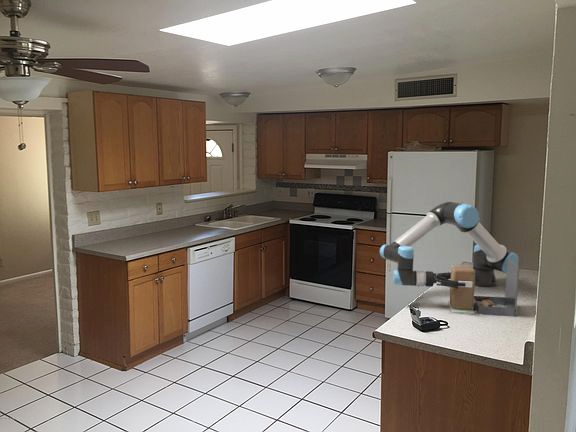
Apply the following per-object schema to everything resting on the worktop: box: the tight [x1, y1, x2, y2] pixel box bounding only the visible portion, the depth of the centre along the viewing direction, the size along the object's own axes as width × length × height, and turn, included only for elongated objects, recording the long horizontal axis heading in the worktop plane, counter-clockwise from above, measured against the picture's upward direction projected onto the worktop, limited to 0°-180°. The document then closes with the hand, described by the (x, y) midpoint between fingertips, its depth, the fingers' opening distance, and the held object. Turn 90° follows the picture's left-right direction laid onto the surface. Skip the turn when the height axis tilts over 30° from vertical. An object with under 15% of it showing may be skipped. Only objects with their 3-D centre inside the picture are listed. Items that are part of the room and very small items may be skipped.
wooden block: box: [448, 264, 476, 310], centre depth 247 cm, size 10×10×20 cm
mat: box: [447, 300, 476, 315], centre depth 249 cm, size 16×10×1 cm, turn 171°
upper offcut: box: [480, 300, 495, 307], centre depth 246 cm, size 11×3×2 cm, turn 142°
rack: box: [473, 259, 520, 317], centre depth 245 cm, size 17×17×24 cm
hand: (469, 280), depth 246 cm, fingers open, 13 cm apart
